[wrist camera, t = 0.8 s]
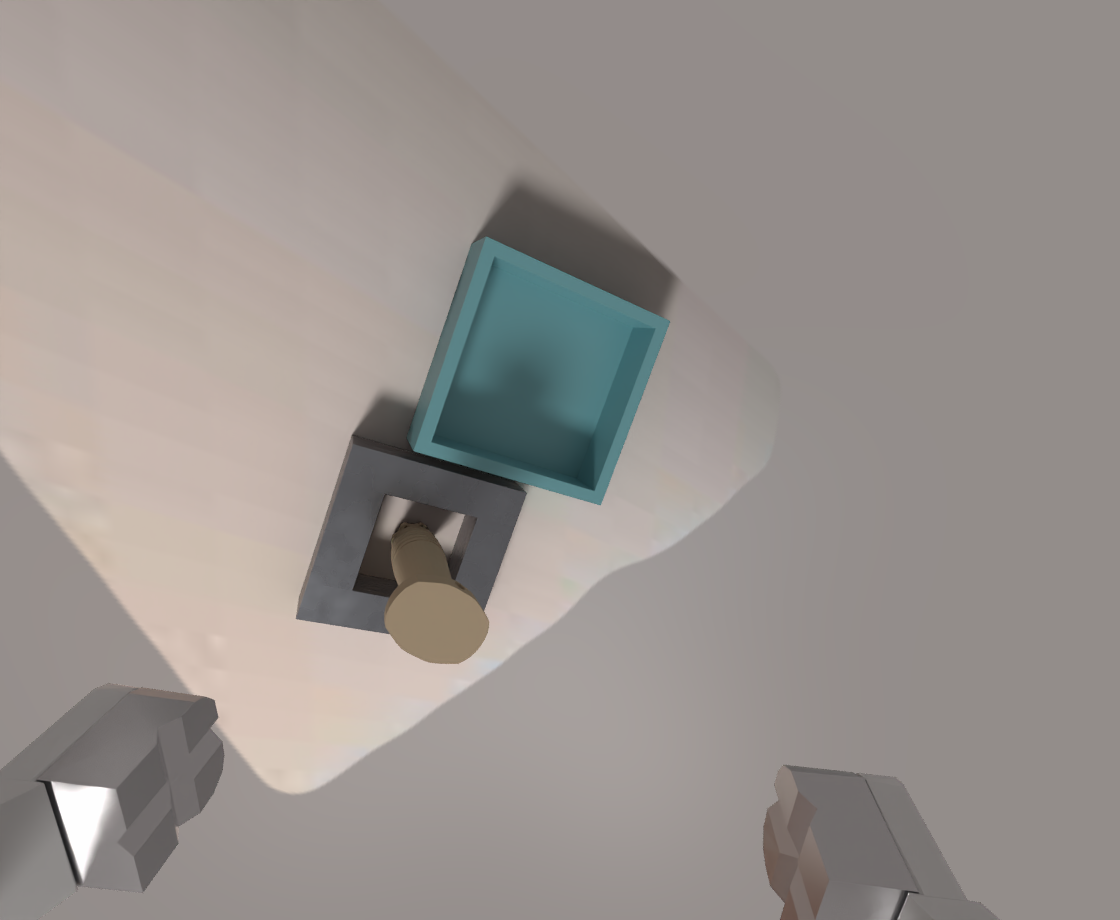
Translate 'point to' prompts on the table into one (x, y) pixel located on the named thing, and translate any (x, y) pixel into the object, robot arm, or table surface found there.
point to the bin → (535, 375)
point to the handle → (430, 602)
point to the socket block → (353, 512)
